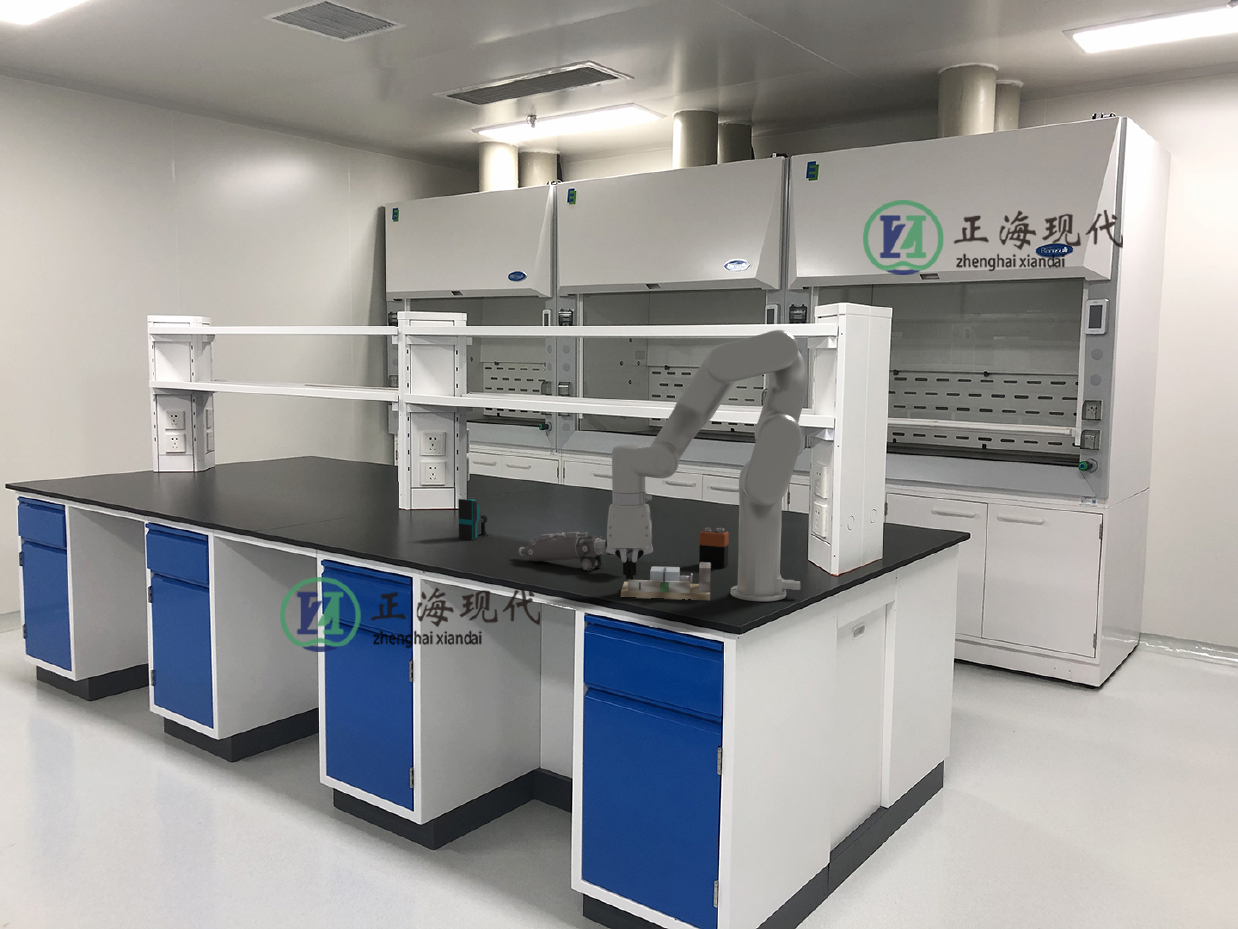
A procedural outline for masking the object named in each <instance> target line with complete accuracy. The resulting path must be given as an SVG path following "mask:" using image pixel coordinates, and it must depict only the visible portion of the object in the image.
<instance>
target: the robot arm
mask: <svg viewBox="0 0 1238 929" xmlns="http://www.w3.org/2000/svg"><path fill="white" fill-rule="evenodd" d="M767 374H768V387H767V391H766V394H765V399H764V402H763V405H762V407H761V411H760V415H759V418H758V420H757V423H756V425H755V428H754V439H755V442H754V443H755V444H754V447H753V449H752V454H751V456H750V459H749V460H748V461H747V462H745V464H744V465H743V466H742V468H741V470H740V472H739V477H738V500H739V501H738V503H739V505H738V506H739V507H738V509H739V511H738V512H739V515H738V516H739V517H738V543H737V544H738V547H737V548H738V549H737V550H738V551H737V552H738V553H737V585H734V586H731V588H730V595H731V596H732V597H734V598H736V599H739V600H744V601H749V602H750V601H751V602H775V601H780V600H783V599H785V598H786V596H787V590H792V591H793V590H796V591H797V590H798V591H800V590H801V581H800V580H799V581H797V580H794V579H784V578H782V575H781V573H780V572H781V547H782V546H781V542H782V541H781V540H782V520H783V519H782V516H783V514H782V511H783V510H782V508H783V507H782V499H783V498H784V497H785V495H786V493H787V491H788V489H789V486H790V482H791V480H792V476H793V473H794V469H795V467H796V464H797V460H798V456H799V453H800V450H801V447H802V446H801V445H802V440H803V432H802V428H801V425H800V424H799V422H800V418H801V414H802V410H803V407H804V402H805V399H806V394H807V389H808V383H809V382H808V381H809V380H808V379H809V376H808V369H807V365H806V363H805V359H804V358H803V355H802V354H801V352H800V350H799V344H798V340H797V339H796V338H795V336H794V335H793V334H792V333H790V332H788V331H786V330H782V329H775V330H771V331H768V332H765V333H762V334H758V335H753V336H751V337H747V338H743V339H739V340H735V341H731V342H725V343H721V344H718V345H715V346H714V347H713V348H712V349H710V350H709V351H708V353H707V355H706V356H705V358H704V359H703V361H702V362H701V364H700V366H699V367H698V369H697V371H696V372H695V374H694V375H693V377H692V378H691V380H690V381H689V383H688V384H687V386H686V388H685V389H684V390H683V392H682V394H681V396H680V397H679V398H678V400H677V402H676V404H675V405H674V408H673V410H672V412H671V413H670V415H669V417H667V420H666V421H665V423H664V424H663V426H662V427H661V429H660V431H659V432H658V433H657V435H656V437H655V438H654V439H653V441H652V443H651V444H650V446H648V447H643V446H641V445H638V444H621V445H620V444H619V445H616V446H614V447H613V448H612V450H611V478H612V479H611V482H612V483H611V484H612V485H611V486H612V487H611V488H612V492H611V493H612V503H611V504H609V507H608V514H607V525H606V526H607V528H606V539H607V549H606V552H605V553H606V554H607V553H610V554H615V556H616V557H618V558H619V560H621V562H622V575H623V576H625V580H627V581H628V580H634V577H635V576H637V572H638V571H637V569H638V568H637V564H638V563H637V562H638V560H639V559H640V558H641V557H642V556H645V555H648V554H652V553H653V551H654V548H653V544H652V542H653V530H652V527H653V526H652V517H651V516H652V515H651V508H650V504H647V503H646V502H648V501H652V498H653V496H652V494H651V493H647V491H646V478H647V477H648V478H653V479H667V478H668V479H669V478H670V477H672V476H673V475H674V474H675V473H676V472H677V470H678V468H679V466H680V465H679V464H680V460H681V458H682V456H683V454H684V453H686V452H685V451H686V450H687V449H688V447H689V446H690V443H692V441H693V440H694V439H695V437H696V436H697V435H698V433H699V432H700V431H701V430H702V429H703V428H704V427H705V426H706V425H707V424H709V422H710V421H711V419H712V418H713V417H714V416H715V414H716V412H717V410H718V409H719V407H720V406H721V404H722V403H723V401H724V399H725V398H726V396H727V395H728V394H729V392H730V390H731V389H732V387H733V386H734V384H735V383H736V382H739V381H743V380H747V379H750V378H751V379H752V378H755V377H758V376H762V375H767ZM626 549H633V552H632V555H631V556H632V557H631V558H629V556H628V554H627V550H626Z"/></svg>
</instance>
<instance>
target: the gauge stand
mask: <svg viewBox="0 0 1238 929" xmlns="http://www.w3.org/2000/svg"><path fill="white" fill-rule="evenodd" d="M698 566H699V571H698V574H699V575H698V576H699V577H698V583H692V584H691V581H665V585H664V584H663V581H651V580H650V579H649V580H646V579H645V580H643V579H633V580H631V579H628V580H627V581H624V582H623V584H622V587H621V590H620V598H621V597H636V598H635V599H651V598H664V599H663V600H682V599H685V601H688V599H691V600H690V601H692V600H693V601H711V571H712V570H711V568H712V567H711V563H708V562H700V565H698Z"/></svg>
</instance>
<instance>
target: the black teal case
mask: <svg viewBox="0 0 1238 929" xmlns="http://www.w3.org/2000/svg"><path fill="white" fill-rule="evenodd" d="M457 502H458V503H457V504H458V506H457V508H458V540H463V541H470V540H473V541H475V540H476V539H477V538H478V537H479V536H483V537H482V538H485V537H487V536H486V535H487V534H488V533H487V530H486V523H487V522H488V517H487V516H486V515H485V514H482V512H481V511H480V505H479V501H478V499H473V498H468V499H467V498H466V499H465V498H458V501H457ZM477 535H478V536H477ZM484 536H485V537H484Z"/></svg>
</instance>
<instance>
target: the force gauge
mask: <svg viewBox="0 0 1238 929" xmlns="http://www.w3.org/2000/svg"><path fill="white" fill-rule="evenodd" d="M650 568H651V569H650V571H649V573H650V574H649V575H650V576H649V578H650V579H649V580H651V581H663V584H664V585H665V581H683V582H690V584H693V578H694V577H693V572H691V573H690V575H680V574H681V573H680V572H681V570H680V568H681V567H679V566H651V567H650Z"/></svg>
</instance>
